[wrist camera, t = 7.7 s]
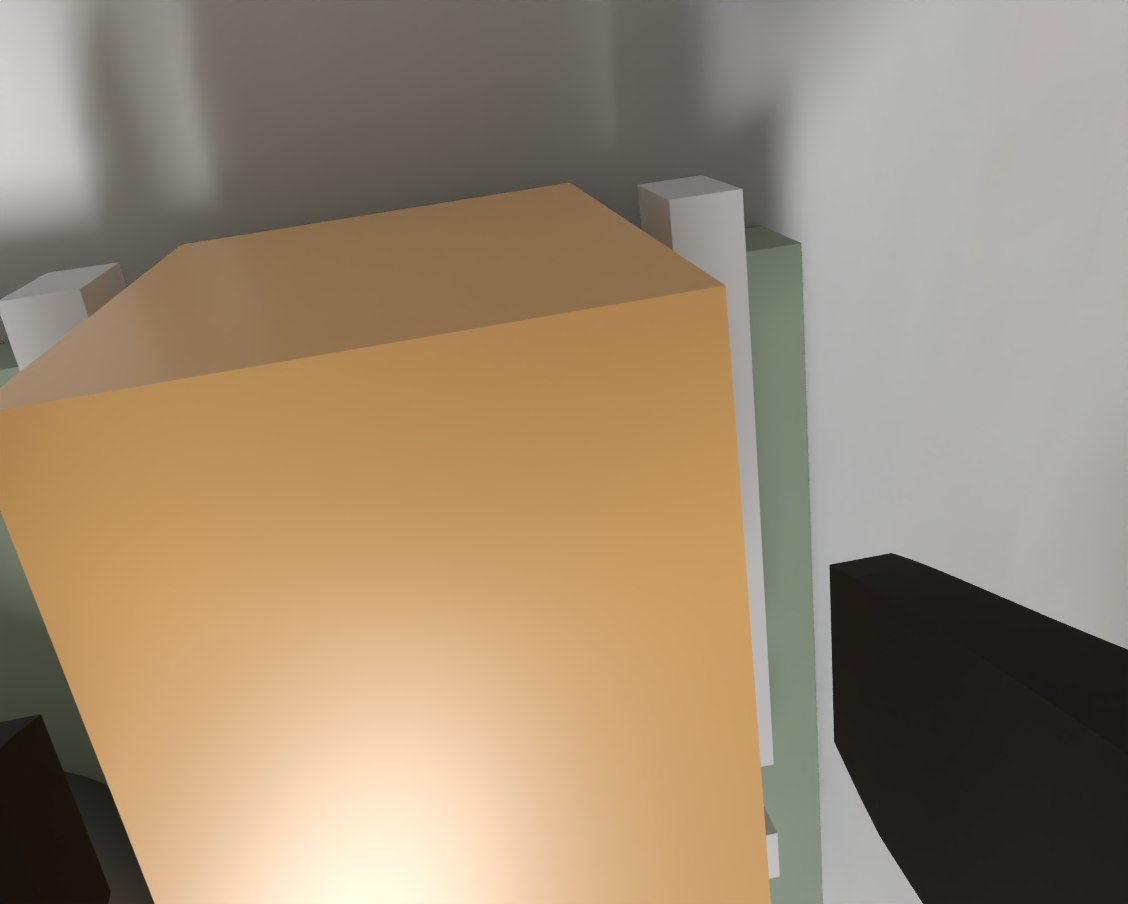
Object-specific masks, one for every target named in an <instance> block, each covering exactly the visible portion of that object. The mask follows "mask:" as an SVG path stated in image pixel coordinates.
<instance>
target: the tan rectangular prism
mask: <svg viewBox="0 0 1128 904" xmlns="http://www.w3.org/2000/svg"><path fill="white" fill-rule="evenodd" d="M0 511H1V514H2V516H3V519H4V521H5V524H6V526H7V529H8V532H9V534H10V537H11V539H12V542H13V544H14V547H15V549H16V552H17V554H18V557H19V560H20V562H21V565H22V567H23V570H24V572H25V575H26V577H27V580H28V582H29V585H30V588H31V590H32V593H33V595H34V598H35V600H36V603H37V605H38V608H39V610H40V613H41V616H42V618H43V621H44V623H45V626H46V628H47V631H48V633H49V636H50V638H51V641H52V644H53V646H54V649H55V651H56V654H57V656H58V659H59V661H60V664H61V666H62V669H63V672H64V674H65V677H66V679H67V682H68V684H69V687H70V689H71V692H72V694H73V697H74V699H75V702H76V705H77V707H78V710H79V712H80V715H81V717H82V720H83V722H84V725H85V727H86V730H87V733H88V735H89V738H90V740H91V743H92V745H93V748H94V750H95V753H96V755H97V758H98V761H99V763H100V766H101V768H102V771H103V773H104V776H105V778H106V781H107V783H108V786H109V789H110V791H111V794H112V796H113V799H114V801H115V804H116V806H117V809H118V811H119V814H120V817H121V819H122V822H123V824H124V827H125V829H126V832H127V834H128V837H129V839H130V842H131V845H132V847H133V850H134V852H135V855H136V857H137V860H138V862H139V865H140V867H141V870H142V873H143V875H144V878H145V880H146V883H147V885H148V888H149V890H150V893H151V895H152V898H153V901H154V903H155V904H771V898H770V884H769V870H768V857H767V843H766V830H765V816H764V802H763V789H762V775H761V762H760V748H759V734H758V721H757V707H756V694H755V680H754V666H753V653H752V639H751V626H750V612H749V598H748V585H747V571H746V558H745V544H744V530H743V517H742V503H741V490H740V476H739V462H738V449H737V435H736V421H735V408H734V394H733V381H732V367H731V353H730V340H729V326H728V313H727V299H726V285H724V284H723V283H721V282H720V281H718V280H717V279H715V278H714V277H712V276H710V275H709V274H707V273H706V272H704V271H703V270H701V269H700V268H698V267H697V266H695V265H694V264H692V263H691V262H689V261H688V260H686V259H685V258H683V257H682V256H680V255H679V254H677V253H676V252H674V251H673V250H671V249H670V248H668V247H667V246H665V245H664V244H662V243H661V242H659V241H658V240H656V239H655V238H653V237H652V236H650V235H649V234H647V233H646V232H644V231H643V230H641V229H640V228H638V227H636V226H635V225H633V224H632V223H630V222H629V221H627V220H626V219H624V218H623V217H621V216H620V215H618V214H617V213H615V212H614V211H612V210H611V209H609V208H608V207H606V206H605V205H603V204H602V203H600V202H599V201H597V200H596V199H594V198H593V197H591V196H590V195H588V194H587V193H585V192H584V191H582V190H581V189H579V188H578V187H576V186H575V185H573V184H572V183H564V184H557V185H551V186H545V187H539V188H532V189H526V190H520V191H513V192H507V193H501V194H495V195H488V196H482V197H476V198H470V199H463V200H457V201H451V202H444V203H438V204H432V205H426V206H419V207H413V208H407V209H401V210H394V211H388V212H382V213H376V214H369V215H363V216H357V217H350V218H344V219H338V220H332V221H325V222H319V223H313V224H307V225H300V226H294V227H288V228H282V229H275V230H269V231H263V232H256V233H250V234H244V235H238V236H231V237H225V238H219V239H213V240H206V241H200V242H194V243H188V244H181V245H180V246H178V247H177V248H176V249H175V250H173V251H172V252H171V253H170V254H168V255H167V256H166V257H165V258H163V259H162V260H161V261H160V262H158V263H157V264H156V265H154V266H153V267H152V268H151V269H149V270H148V271H147V272H146V273H144V274H143V275H142V276H141V277H139V278H138V279H137V280H135V281H134V282H133V283H132V284H130V285H129V286H128V287H127V288H125V289H124V290H123V291H122V292H120V293H119V294H118V295H116V296H115V297H114V298H113V299H111V300H110V301H109V302H108V303H106V304H105V305H104V306H103V307H101V308H100V309H99V310H97V311H96V312H95V313H94V314H92V315H91V316H90V317H89V318H87V319H86V320H85V321H84V322H82V323H81V324H80V325H78V326H77V327H76V328H75V329H73V330H72V331H71V332H70V333H68V334H67V335H66V336H65V337H63V338H62V339H61V340H60V341H58V342H57V343H56V344H54V345H53V346H52V347H51V348H49V349H48V350H47V351H46V352H44V353H43V354H42V355H41V356H39V357H38V358H37V359H35V360H34V361H33V362H32V363H30V364H29V365H28V366H27V367H25V368H24V369H23V370H22V371H20V372H19V373H18V374H16V375H15V376H14V377H13V378H11V379H10V380H9V381H8V382H6V383H5V384H4V385H3V386H1V387H0Z"/></svg>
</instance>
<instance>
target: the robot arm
mask: <svg viewBox="0 0 1128 904" xmlns="http://www.w3.org/2000/svg"><path fill="white" fill-rule="evenodd" d="M830 598H831V636H832V674H833V712H834V742H835V744H836V747H837V749H838V751H839V753H840V755H841V757H842V759H843V761H844V764H845V766H846V768H847V770H848V772H849V774H850V776H851V779H852V781H853V783H854V785H855V787H856V789H857V791H858V794H859V796H860V798H861V800H862V802H863V804H864V806H865V808H866V810H867V812H868V814H869V816H870V818H871V820H872V822H873V824H874V826H875V828H876V830H877V831H878V833H879V835H880V837H881V839H882V840H883V842H884V843H885V845H886V847H887V848H888V850H889V851H890V853H891V855H892V856H893V858H894V859H895V861H896V862H897V864H898V866H899V867H900V869H901V870H902V872H903V873H904V875H905V876H906V878H907V879H908V881H909V883H910V884H911V886H912V887H913V889H914V890H915V892H916V893H917V895H918V897H919V898H920V900H921V901H922V903H923V904H1128V650H1127V649H1125V648H1122V647H1120V646H1117V645H1115V644H1112V643H1110V642H1107V641H1105V640H1102V639H1100V638H1098V637H1095V636H1093V635H1090V634H1088V633H1085V632H1083V631H1081V630H1078V629H1076V628H1073V627H1071V626H1069V625H1066V624H1064V623H1061V622H1059V621H1057V620H1054V619H1052V618H1050V617H1047V616H1045V615H1042V614H1040V613H1038V612H1035V611H1033V610H1031V609H1028V608H1026V607H1024V606H1021V605H1019V604H1017V603H1014V602H1012V601H1010V600H1007V599H1005V598H1003V597H1000V596H998V595H996V594H993V593H991V592H989V591H987V590H984V589H982V588H980V587H977V586H975V585H973V584H970V583H968V582H965V581H963V580H961V579H958V578H956V577H954V576H951V575H949V574H946V573H944V572H942V571H939V570H937V569H934V568H932V567H929V566H927V565H924V564H922V563H919V562H916V561H913V560H911V559H908V558H905V557H902V556H899V555H896V554H892V553H890V554H885V555H879V556H874V557H869V558H863V559H858V560H853V561H848V562H842V563H837V564H832V565H830ZM110 893H111V890H110V888H109V885H108V883H107V880H106V878H105V875H104V873H103V870H102V868H101V865H100V862H99V860H98V857H97V855H96V852H95V850H94V847H93V845H92V842H91V840H90V837H89V835H88V832H87V830H86V827H85V824H84V822H83V819H82V817H81V814H80V812H79V809H78V807H77V804H76V802H75V799H74V797H73V794H72V792H71V789H70V786H69V784H68V781H67V779H66V776H65V774H64V771H63V769H62V766H61V764H60V761H59V759H58V756H57V754H56V751H55V748H54V746H53V743H52V741H51V738H50V736H49V733H48V731H47V728H46V726H45V723H44V721H43V718H42V715H41V714H39V715H33V716H28V717H23V718H18V719H12V720H7V721H2V722H0V904H109V899H110Z"/></svg>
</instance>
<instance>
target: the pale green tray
mask: <svg viewBox="0 0 1128 904" xmlns="http://www.w3.org/2000/svg"><path fill="white" fill-rule="evenodd" d="M637 188H638V199H639V209H640V220H641V230H643V231H644V232H646V233H647V234H649V235H650V236H652V237H653V238H655V239H656V240H658V241H659V242H661V243H662V244H664V245H665V246H667V247H668V248H670V249H671V250H673V251H674V252H676V253H677V254H679V255H680V256H682V257H683V258H685V259H686V260H688V261H689V262H691V263H692V264H694V265H695V266H697V267H698V268H700V269H701V270H703V271H704V272H706V273H707V274H709V275H710V276H712V277H714V278H715V279H717V280H718V281H720V282H721V283H723V284H724V285H726V299H727V313H728V326H729V340H730V353H731V367H732V381H733V394H734V408H735V421H736V435H737V449H738V462H739V476H740V490H741V503H742V517H743V530H744V544H745V558H746V571H747V585H748V598H749V612H750V626H751V639H752V653H753V666H754V680H755V694H756V707H757V721H758V734H759V748H760V762H761V775H762V789H763V802H764V816H765V830H766V843H767V857H768V870H769V884H770V898H771V904H823V895H822V864H821V833H820V803H819V772H818V742H817V711H816V680H815V650H814V619H813V588H812V558H811V527H810V497H809V466H808V435H807V405H806V374H805V343H804V313H803V282H802V252H801V243H799V242H797V241H795V240H792V239H790V238H788V237H785V236H783V235H781V234H778V233H776V232H774V231H772V230H769V229H767V228H765V227H762V226H756V227H750V228H745V224H744V206H743V189H741V188H739V187H736V186H733V185H730V184H727V183H724V182H721V181H718V180H715V179H713V178H710V177H707V176H704V175H699V176H692V177H685V178H679V179H672V180H665V181H659V182H652V183H645V184H639V185H637ZM125 288H127V285H126V282H125V278H124V275H123V271H122V268H121V265H120V262H116V263H110V264H103V265H96V266H89V267H83V268H76V269H69V270H63V271H56V272H49V273H46V274H44V275H42V276H40V277H39V278H37V279H35V280H33V281H32V282H30V283H28V284H26V285H25V286H23V287H21V288H19V289H17V290H16V291H14V292H12V293H10V294H9V295H7V296H5V297H3V298H2V299H0V316H1V318H2V321H3V324H4V327H5V330H6V333H7V336H8V338H9V341H10V342H9V343H3V344H0V387H1V386H3V385H4V384H5V383H6V382H8V381H9V380H10V379H11V378H13V377H14V376H15V375H16V374H18V373H19V372H20V371H22V370H23V369H24V368H25V367H27V366H28V365H29V364H30V363H32V362H33V361H34V360H35V359H37V358H38V357H39V356H41V355H42V354H43V353H44V352H46V351H47V350H48V349H49V348H51V347H52V346H53V345H54V344H56V343H57V342H58V341H60V340H61V339H62V338H63V337H65V336H66V335H67V334H68V333H70V332H71V331H72V330H73V329H75V328H76V327H77V326H78V325H80V324H81V323H82V322H84V321H85V320H86V319H87V318H89V317H90V316H91V315H92V314H94V313H95V312H96V311H97V310H99V309H100V308H101V307H103V306H104V305H105V304H106V303H108V302H109V301H110V300H111V299H113V298H114V297H115V296H116V295H118V294H119V293H120V292H122V291H123V290H124V289H125ZM39 714H41V715H42V718H43V721H44V723H45V726H46V728H47V731H48V733H49V736H50V738H51V741H52V743H53V746H54V748H55V751H56V754H57V756H58V759H59V761H60V764H61V766H62V769H63V771H64V774H65V776H66V779H67V781H68V784H69V786H70V789H71V792H72V794H73V797H74V799H75V802H76V804H77V807H78V809H79V812H80V814H81V817H82V819H83V822H84V824H85V827H86V830H87V832H88V835H89V837H90V840H91V842H92V845H93V847H94V850H95V852H96V855H97V857H98V860H99V862H100V865H101V868H102V870H103V873H104V875H105V878H106V880H107V883H108V885H109V888H110V890H111V893H110V899H109V904H155V903H154V901H153V898H152V895H151V893H150V890H149V888H148V885H147V883H146V880H145V878H144V875H143V873H142V870H141V867H140V865H139V862H138V860H137V857H136V855H135V852H134V850H133V847H132V845H131V842H130V839H129V837H128V834H127V832H126V829H125V827H124V824H123V822H122V819H121V817H120V814H119V811H118V809H117V806H116V804H115V801H114V799H113V796H112V794H111V791H110V789H109V786H108V783H107V781H106V778H105V776H104V773H103V771H102V768H101V766H100V763H99V761H98V758H97V755H96V753H95V750H94V748H93V745H92V743H91V740H90V738H89V735H88V733H87V730H86V727H85V725H84V722H83V720H82V717H81V715H80V712H79V710H78V707H77V705H76V702H75V699H74V697H73V694H72V692H71V689H70V687H69V684H68V682H67V679H66V677H65V674H64V672H63V669H62V666H61V664H60V661H59V659H58V656H57V654H56V651H55V649H54V646H53V644H52V641H51V638H50V636H49V633H48V631H47V628H46V626H45V623H44V621H43V618H42V616H41V613H40V610H39V608H38V605H37V603H36V600H35V598H34V595H33V593H32V590H31V588H30V585H29V582H28V580H27V577H26V575H25V572H24V570H23V567H22V565H21V562H20V560H19V557H18V554H17V552H16V549H15V547H14V544H13V542H12V539H11V537H10V534H9V532H8V529H7V526H6V524H5V521H4V519H3V516H2V514H1V511H0V722H2V721H7V720H12V719H18V718H23V717H28V716H33V715H39Z"/></svg>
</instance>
